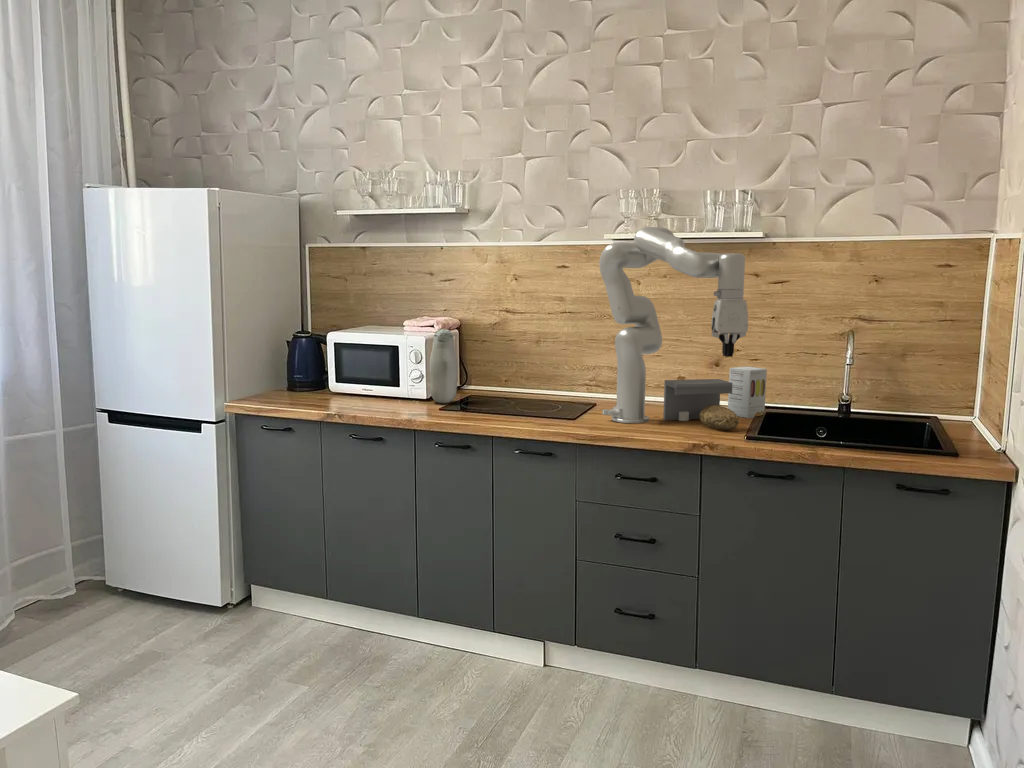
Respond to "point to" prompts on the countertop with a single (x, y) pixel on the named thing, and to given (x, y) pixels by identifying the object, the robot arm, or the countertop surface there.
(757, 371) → the supplement box
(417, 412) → the countertop surface
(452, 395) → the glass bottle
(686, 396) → the grey footed stand
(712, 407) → the rough tan stone
